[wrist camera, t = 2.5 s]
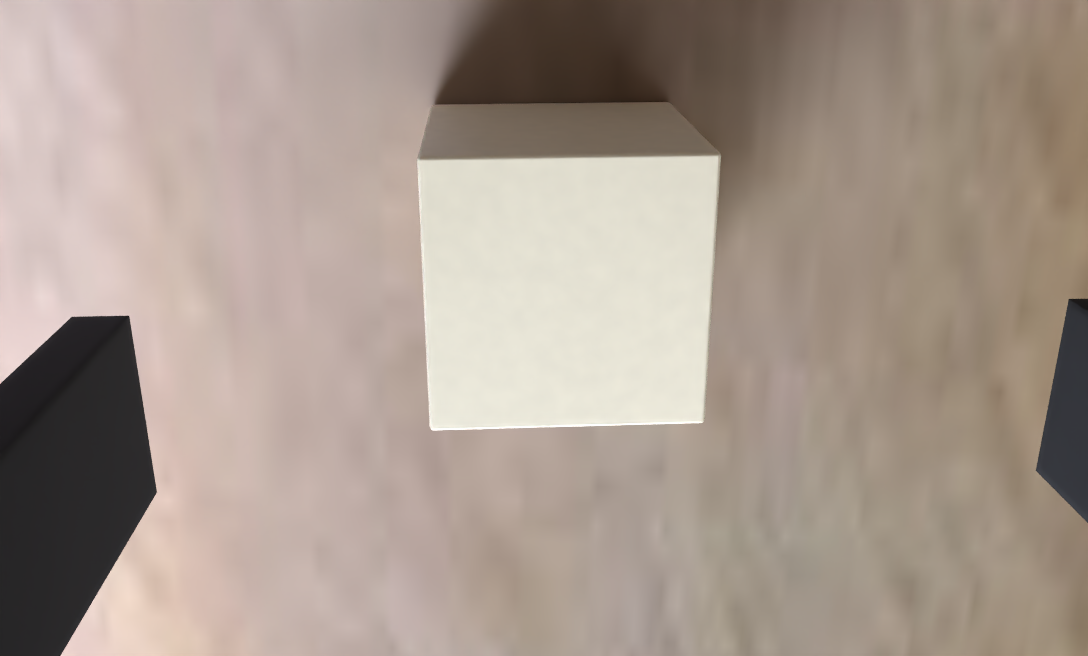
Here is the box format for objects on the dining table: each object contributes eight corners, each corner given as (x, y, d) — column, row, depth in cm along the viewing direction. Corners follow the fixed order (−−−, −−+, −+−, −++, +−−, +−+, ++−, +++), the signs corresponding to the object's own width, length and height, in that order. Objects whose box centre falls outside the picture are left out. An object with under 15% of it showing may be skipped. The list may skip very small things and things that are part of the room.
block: (439, 328, 23) (429, 432, 19) (430, 104, 21) (416, 156, 17) (660, 324, 24) (705, 424, 19) (670, 101, 22) (722, 152, 17)
